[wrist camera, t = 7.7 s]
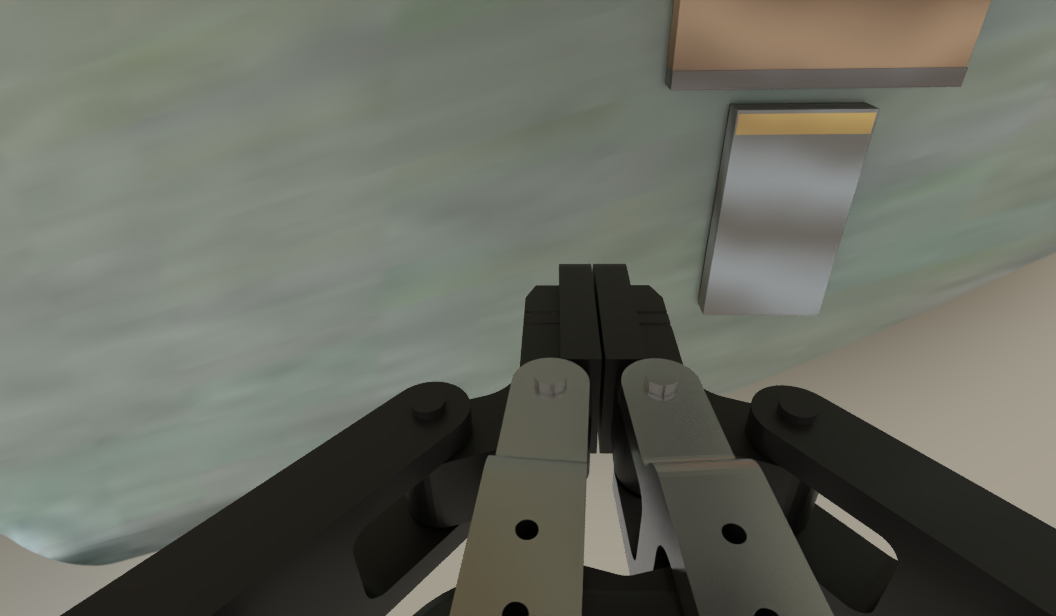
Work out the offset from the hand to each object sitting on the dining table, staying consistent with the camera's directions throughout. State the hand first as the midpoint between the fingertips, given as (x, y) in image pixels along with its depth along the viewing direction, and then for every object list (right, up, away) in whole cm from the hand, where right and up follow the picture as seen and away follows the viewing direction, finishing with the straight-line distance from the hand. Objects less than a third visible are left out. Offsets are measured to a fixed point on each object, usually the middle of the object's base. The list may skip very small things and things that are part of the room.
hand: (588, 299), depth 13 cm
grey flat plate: (+15, +6, +25) cm, 29 cm away
